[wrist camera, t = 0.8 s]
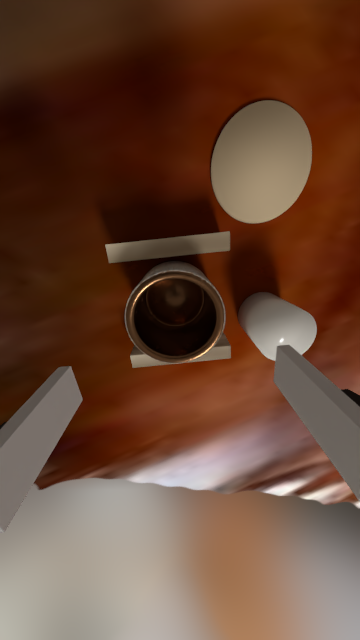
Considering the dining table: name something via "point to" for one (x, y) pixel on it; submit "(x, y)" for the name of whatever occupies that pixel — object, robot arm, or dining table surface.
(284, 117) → the mat
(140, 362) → the cradle
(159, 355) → the planter
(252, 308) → the white cylinder
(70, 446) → the dining table surface
